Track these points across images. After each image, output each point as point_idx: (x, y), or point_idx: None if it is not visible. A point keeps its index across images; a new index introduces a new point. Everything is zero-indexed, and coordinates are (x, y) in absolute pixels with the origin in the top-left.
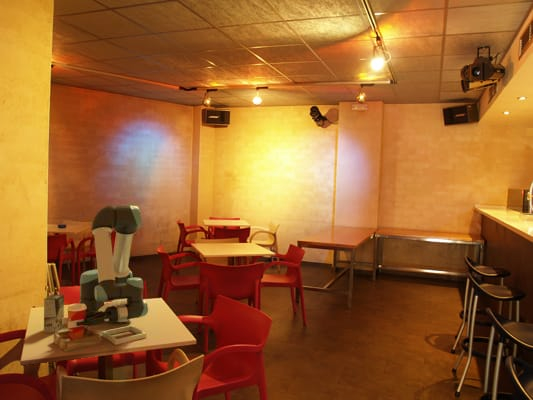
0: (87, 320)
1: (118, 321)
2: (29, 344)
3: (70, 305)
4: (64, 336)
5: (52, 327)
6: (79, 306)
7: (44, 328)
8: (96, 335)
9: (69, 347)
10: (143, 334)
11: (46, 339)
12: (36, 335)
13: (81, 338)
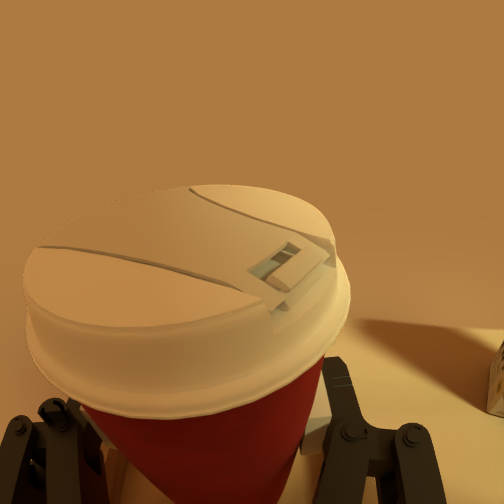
0: (30, 423)
1: None
2: (347, 320)
3: (247, 194)
4: None
5: (500, 376)
6: (81, 235)
7: (498, 351)
8: None
9: None
10: None
11: (391, 373)
12: (457, 343)
13: (103, 452)
